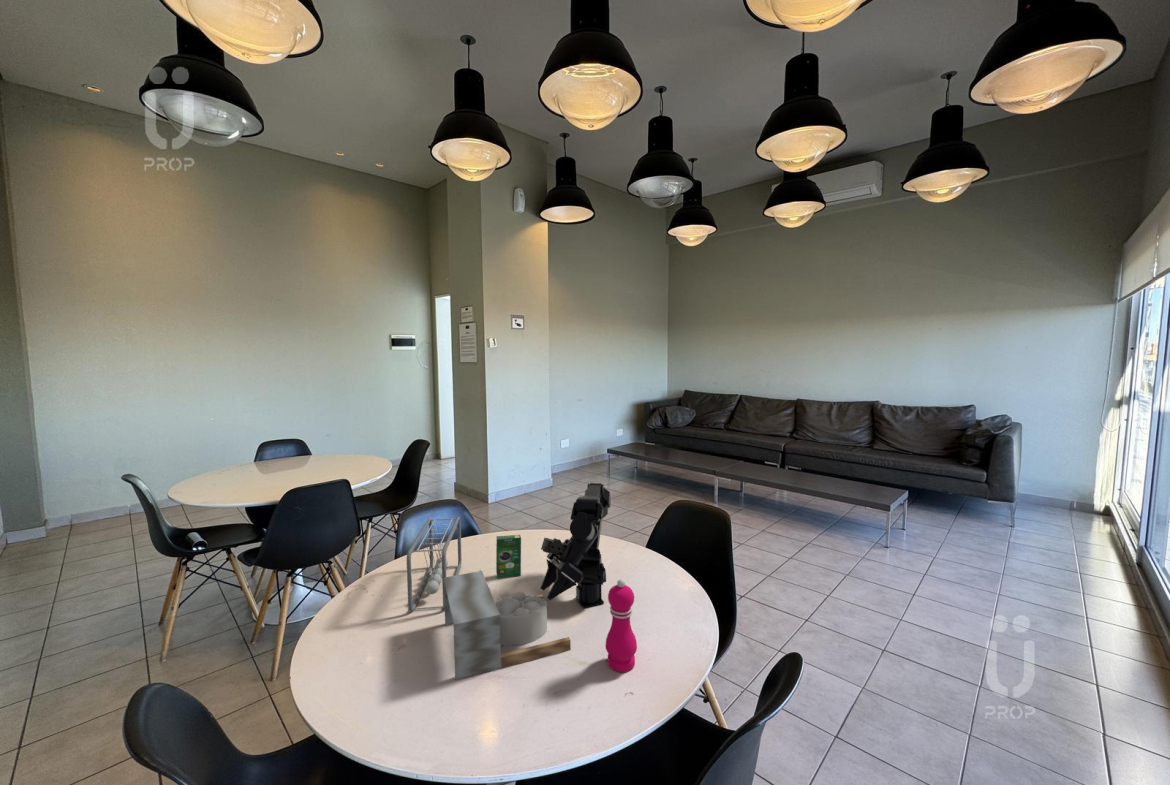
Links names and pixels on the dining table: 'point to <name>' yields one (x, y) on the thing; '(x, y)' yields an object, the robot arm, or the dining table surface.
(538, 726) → the dining table surface
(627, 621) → the pepper mill
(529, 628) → the grey animal paw
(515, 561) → the coffee box
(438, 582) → the newton's cradle
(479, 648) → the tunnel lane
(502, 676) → the dining table surface
